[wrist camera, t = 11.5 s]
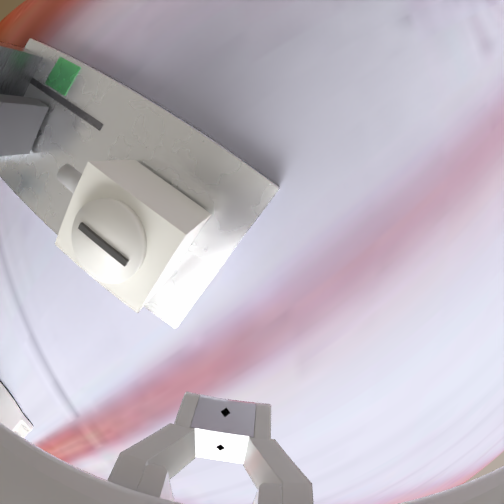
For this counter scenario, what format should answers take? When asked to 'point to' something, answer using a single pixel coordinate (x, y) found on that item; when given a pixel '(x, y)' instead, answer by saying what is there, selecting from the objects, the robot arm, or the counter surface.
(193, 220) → the gauge body
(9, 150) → the block
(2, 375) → the counter surface
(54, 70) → the base
